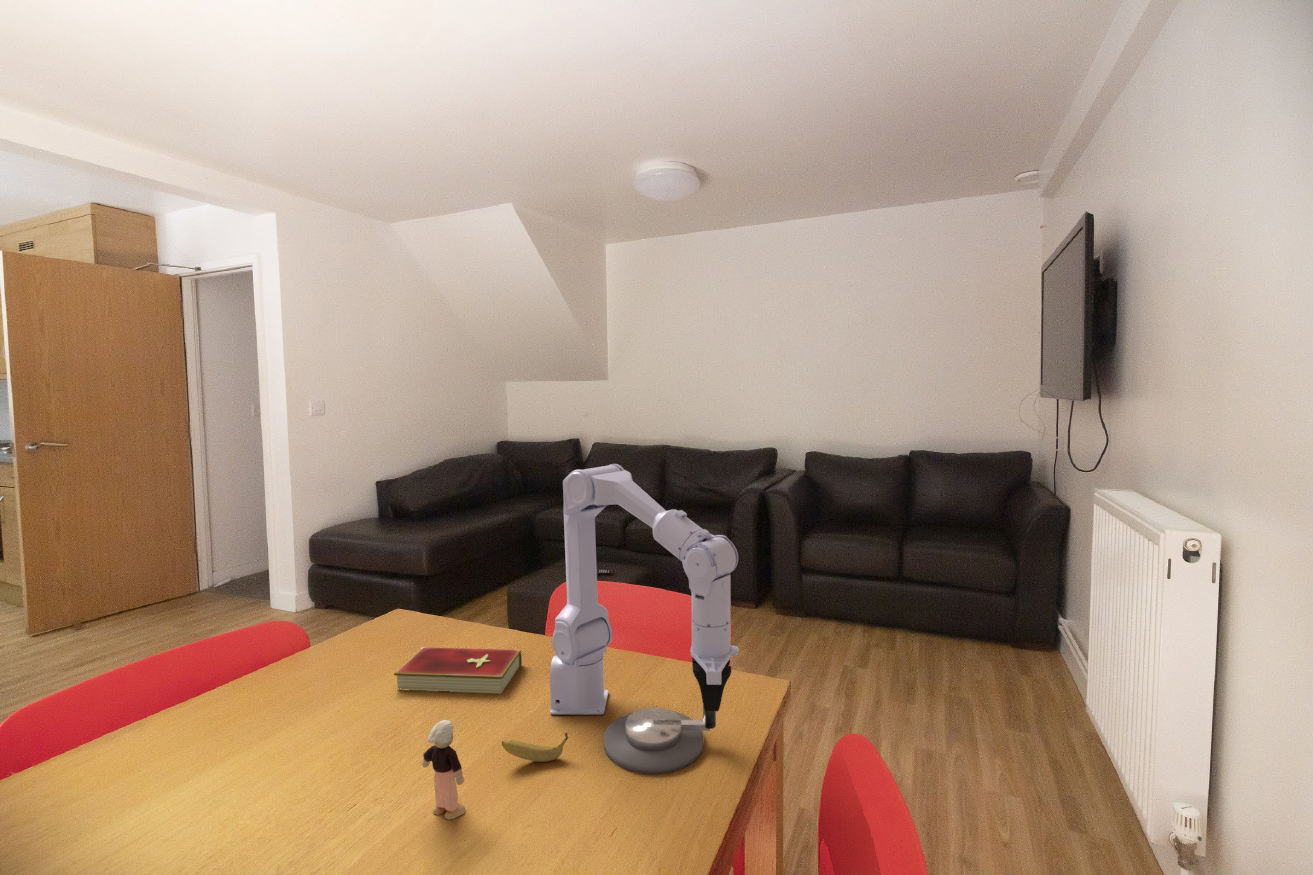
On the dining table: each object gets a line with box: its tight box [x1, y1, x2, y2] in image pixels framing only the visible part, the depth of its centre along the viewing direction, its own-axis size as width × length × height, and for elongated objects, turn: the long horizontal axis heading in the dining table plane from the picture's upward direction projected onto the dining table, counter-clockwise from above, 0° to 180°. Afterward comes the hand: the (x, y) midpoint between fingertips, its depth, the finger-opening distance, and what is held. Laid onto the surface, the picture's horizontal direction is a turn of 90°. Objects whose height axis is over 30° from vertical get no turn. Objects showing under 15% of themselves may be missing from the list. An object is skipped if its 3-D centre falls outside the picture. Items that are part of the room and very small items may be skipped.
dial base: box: [603, 711, 704, 775], centre depth 102 cm, size 16×16×1 cm
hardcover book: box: [393, 646, 523, 694], centre depth 124 cm, size 12×21×4 cm, turn 85°
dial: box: [625, 705, 717, 751], centre depth 101 cm, size 14×9×6 cm, turn 88°
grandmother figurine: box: [421, 719, 466, 821], centre depth 86 cm, size 8×4×13 cm, turn 71°
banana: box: [501, 732, 569, 763], centre depth 97 cm, size 10×2×4 cm, turn 98°
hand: (711, 707), depth 94 cm, fingers closed
